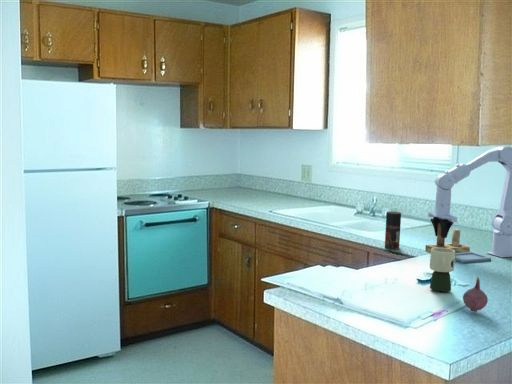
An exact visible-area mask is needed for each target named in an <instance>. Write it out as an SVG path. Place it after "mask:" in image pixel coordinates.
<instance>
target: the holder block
mask: <svg viewBox="0 0 512 384" xmlns="http://www.w3.org/2000/svg"><path fill="white" fill-rule="evenodd" d="M436 247H439V248H448V249H452V250H455V253H464V252H471V247H470V246H469V245H465V244H461V243H459V247H453V246H452V242H449V243H444V246H438V245H437V243H433V244H426V245H425V248H424V249H425V252H427V253H429V254H431V248H436Z"/></svg>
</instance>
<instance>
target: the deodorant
mask: <svg viewBox="0 0 512 384" xmlns="http://www.w3.org/2000/svg"><path fill="white" fill-rule="evenodd" d="M401 220H402V212H399V211H387V212H386V217H385V235H384V236H385V237H384V248H385V249H388V250H400V243H401V242H400V241H401V240H400V239H401V237H400V236H401V222H402V221H401Z"/></svg>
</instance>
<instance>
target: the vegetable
mask: <svg viewBox="0 0 512 384" xmlns="http://www.w3.org/2000/svg"><path fill="white" fill-rule="evenodd" d="M475 278H476V282H475V285H474V286H473V287H471V288H470V289H468V290H466V291H465V292H464V293H463V296H462V301H463V304H464V306H466V307H467V308H468V309H470V311H471V312H473V313H477V312H478V311H481V310H483V309H484V308H485V307H486V306H487V304H488V296H487V294H486V293H485V291H483V290H482V289H481V285H480V284H481V283H480V281H481V280H480V277H479V276H476V277H475Z"/></svg>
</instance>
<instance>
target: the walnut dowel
mask: <svg viewBox="0 0 512 384" xmlns="http://www.w3.org/2000/svg"><path fill="white" fill-rule="evenodd" d="M445 240H446V238H442V237H441V225H440V223H438V230H437V236H436V244H437V245H438V246H444V244H446V243H445Z"/></svg>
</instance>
